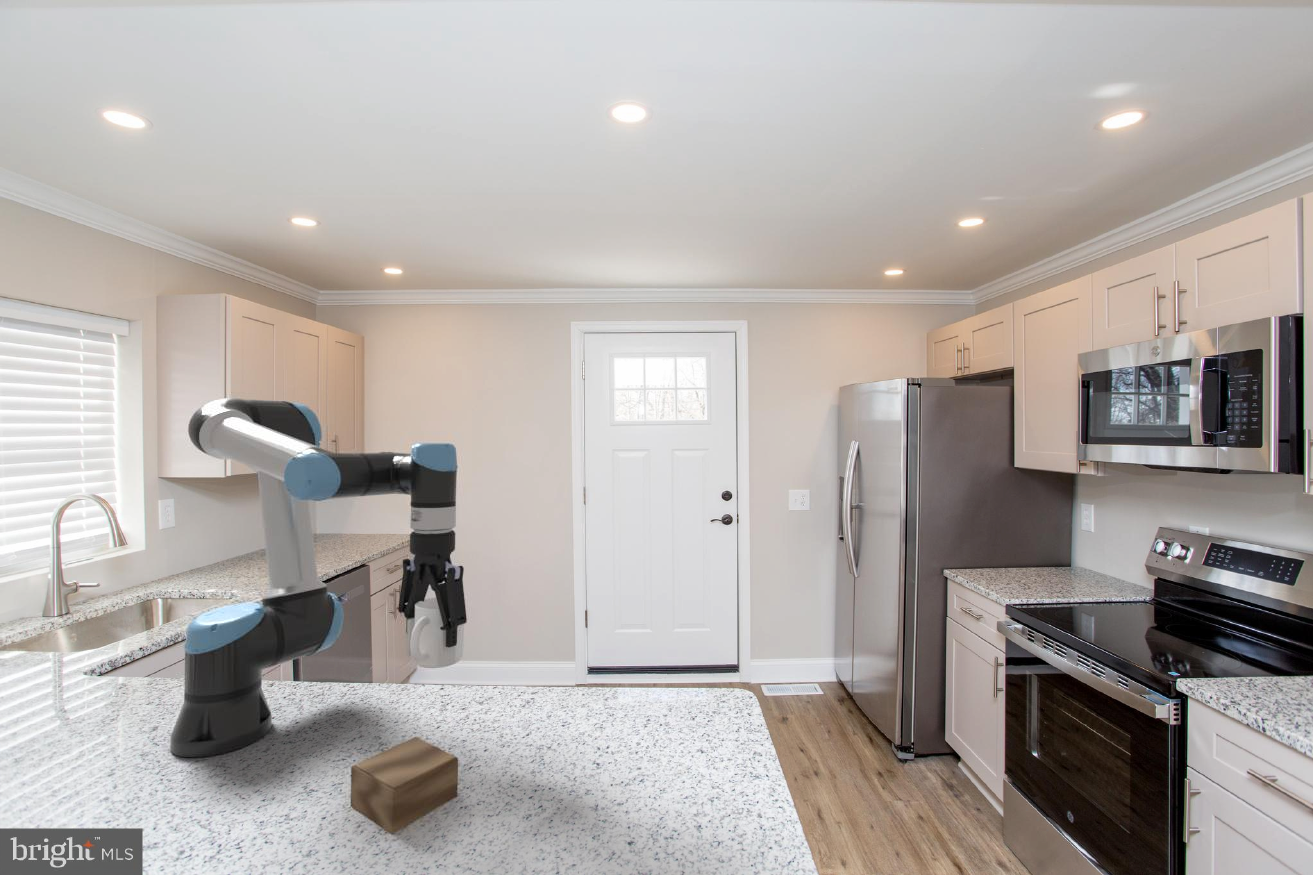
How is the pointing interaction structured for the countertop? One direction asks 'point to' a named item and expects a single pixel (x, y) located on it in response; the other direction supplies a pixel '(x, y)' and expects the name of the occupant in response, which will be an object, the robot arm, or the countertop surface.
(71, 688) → the countertop surface
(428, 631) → the mug
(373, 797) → the walnut block
